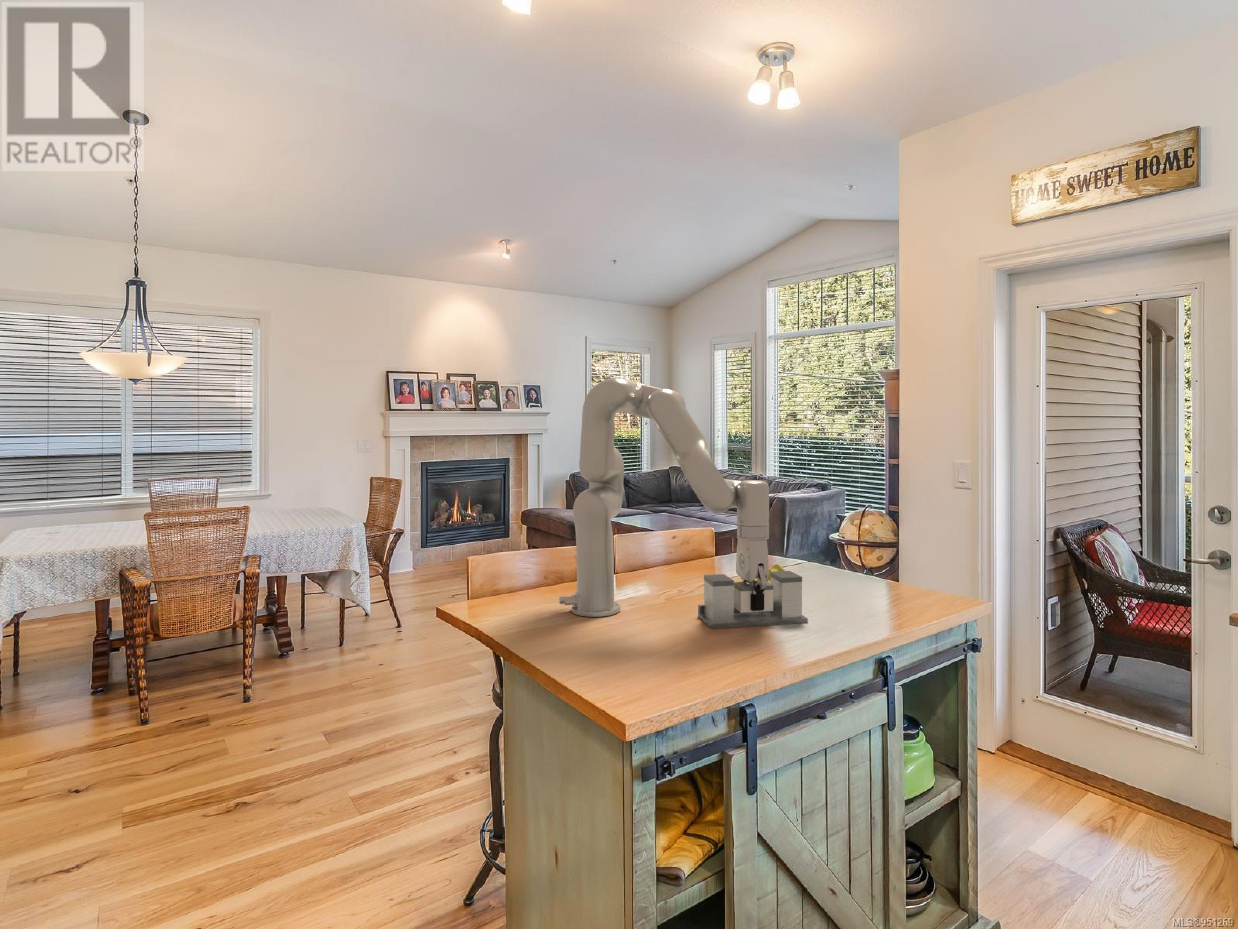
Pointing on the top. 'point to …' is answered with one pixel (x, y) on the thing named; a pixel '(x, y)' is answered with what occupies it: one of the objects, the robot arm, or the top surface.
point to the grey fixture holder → (724, 615)
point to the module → (744, 597)
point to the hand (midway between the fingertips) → (753, 606)
